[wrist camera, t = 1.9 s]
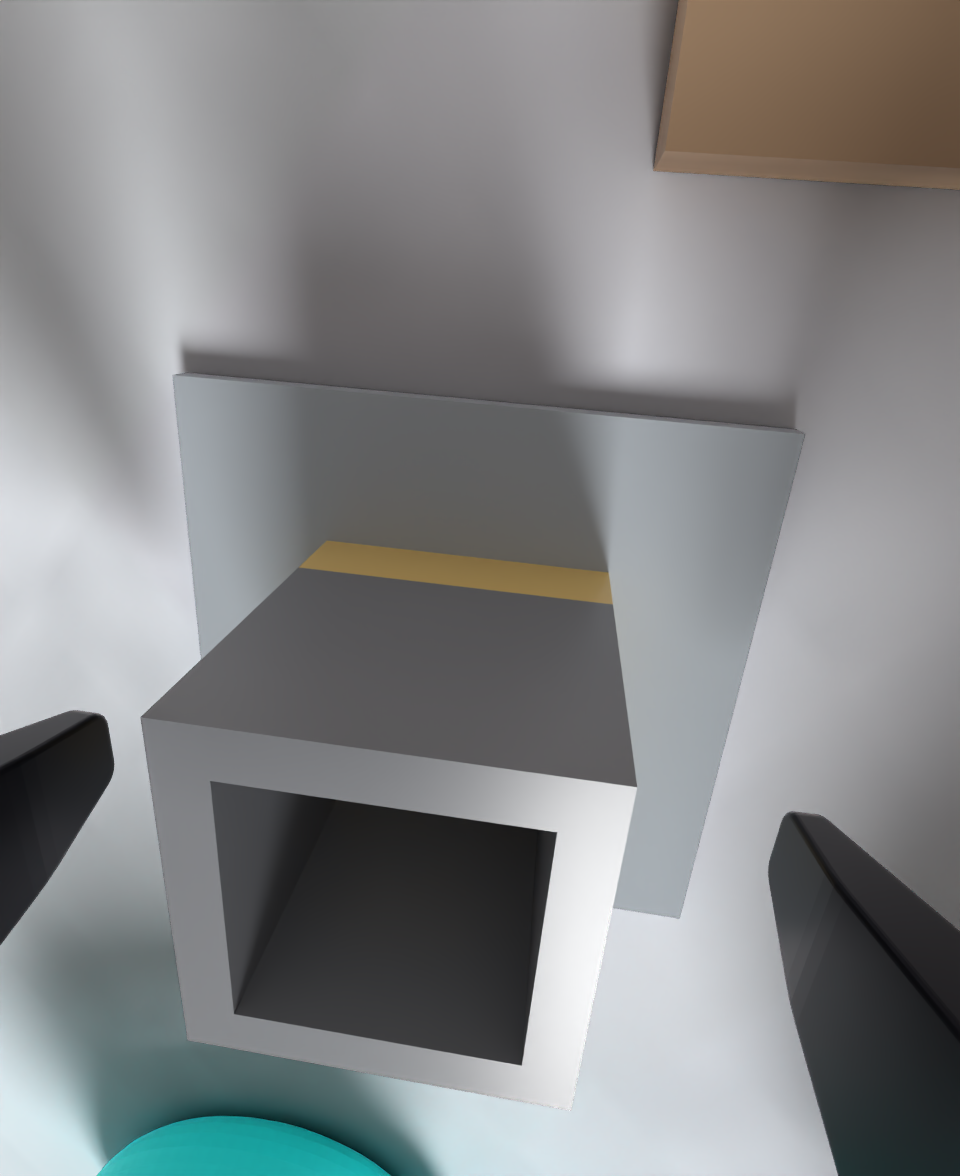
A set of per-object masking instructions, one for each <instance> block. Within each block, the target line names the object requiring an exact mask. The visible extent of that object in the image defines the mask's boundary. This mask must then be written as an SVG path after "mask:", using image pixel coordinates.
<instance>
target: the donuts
mask: <svg viewBox="0 0 960 1176" xmlns="http://www.w3.org/2000/svg"><path fill="white" fill-rule="evenodd" d="M97 1176H391V1175H389V1174H388V1173H387V1172H386V1171H385V1170H383V1169H382V1168H381V1167H379V1166H378V1165H377V1164H375V1163H374V1162H373V1161H371V1160H369V1159H368V1158H366V1157H365V1156H363V1155H362V1154H360V1153H358V1152H356V1151H354V1150H353V1149H351V1148H349V1147H347V1146H345V1145H343V1144H341V1143H339V1142H336V1141H334V1140H332V1139H330V1138H328V1137H325V1136H323V1135H320V1134H318V1133H315V1132H312V1131H309V1130H307V1129H304V1128H301V1127H297V1126H294V1125H291V1124H286V1123H282V1122H277V1121H270V1120H265V1119H260V1118H254V1117H240V1116H207V1117H199V1118H192V1119H187V1120H183V1121H179V1122H175V1123H172V1124H169V1125H166V1126H163V1127H160V1128H157V1129H155V1130H153V1131H151V1132H149V1133H147V1134H145V1135H143V1136H141V1137H139V1138H137V1139H136V1140H134V1141H133V1142H131V1143H130V1144H129V1145H128V1146H126V1147H125V1148H124V1149H123V1150H121V1151H120V1152H119V1153H118V1154H116V1155H115V1156H114V1157H113V1158H112V1159H111V1160H110V1161H109V1162H108V1163H107V1164H106V1165H105V1166H104V1167H103V1169H102V1170H101V1171H100V1172H99V1174H98V1175H97Z"/></svg>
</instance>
